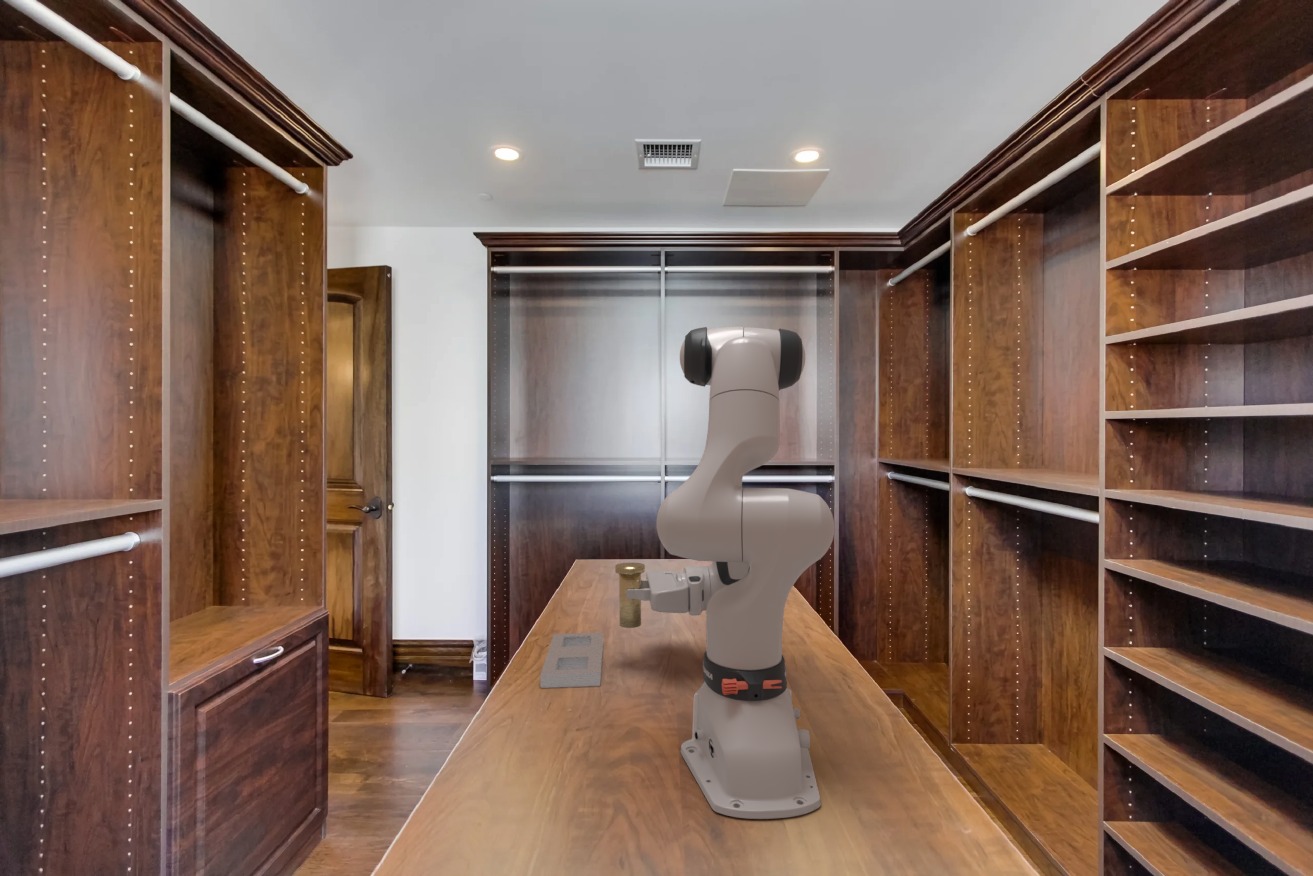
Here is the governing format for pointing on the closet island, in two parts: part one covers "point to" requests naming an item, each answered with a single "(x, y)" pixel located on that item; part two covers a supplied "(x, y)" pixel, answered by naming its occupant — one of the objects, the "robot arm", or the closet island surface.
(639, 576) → the brass capped peg
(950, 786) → the closet island surface
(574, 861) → the closet island surface
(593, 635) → the plate
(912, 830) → the closet island surface
